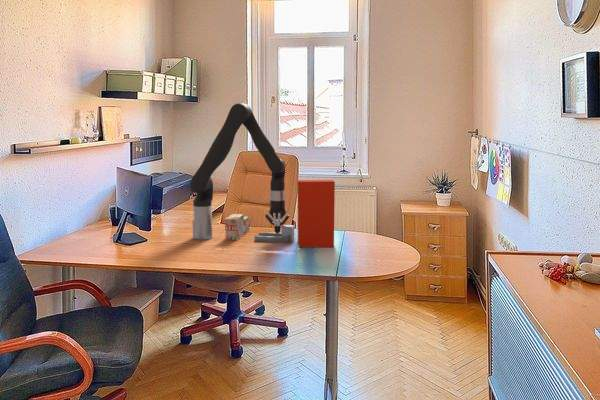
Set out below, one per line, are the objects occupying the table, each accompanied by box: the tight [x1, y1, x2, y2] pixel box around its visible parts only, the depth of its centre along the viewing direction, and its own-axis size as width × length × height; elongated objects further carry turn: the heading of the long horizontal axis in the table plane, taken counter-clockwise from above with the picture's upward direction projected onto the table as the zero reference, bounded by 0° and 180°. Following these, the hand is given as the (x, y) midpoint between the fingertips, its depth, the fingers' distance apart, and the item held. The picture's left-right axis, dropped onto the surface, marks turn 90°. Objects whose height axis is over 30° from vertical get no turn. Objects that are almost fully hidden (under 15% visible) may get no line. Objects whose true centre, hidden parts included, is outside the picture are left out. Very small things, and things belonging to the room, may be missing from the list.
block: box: [280, 224, 295, 243], centre depth 244 cm, size 6×6×7 cm
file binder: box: [297, 179, 336, 248], centre depth 236 cm, size 8×17×32 cm, turn 93°
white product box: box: [224, 213, 250, 241], centre depth 255 cm, size 21×6×12 cm, turn 170°
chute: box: [253, 231, 291, 244], centre depth 246 cm, size 18×9×5 cm, turn 80°
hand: (277, 232), depth 245 cm, fingers closed
